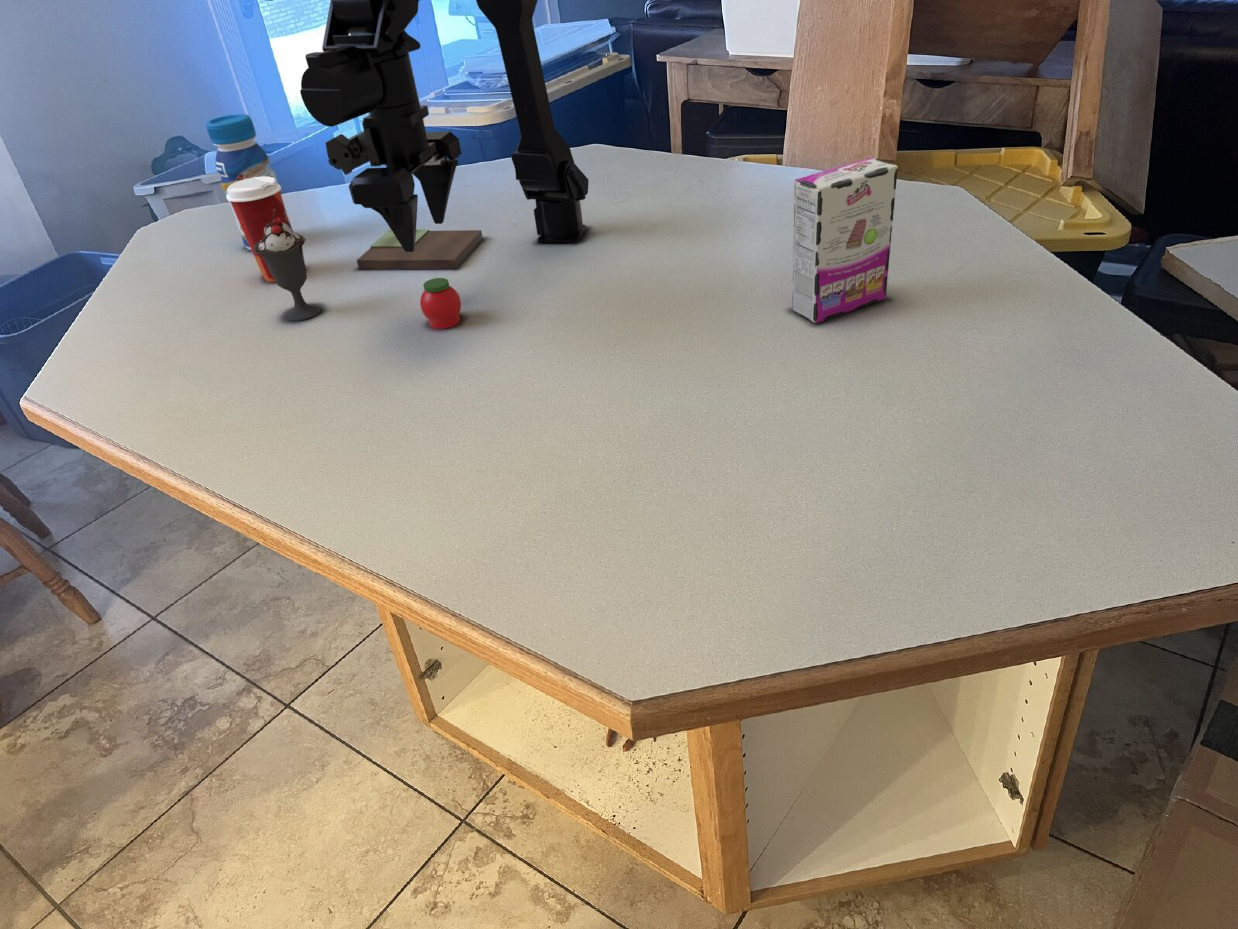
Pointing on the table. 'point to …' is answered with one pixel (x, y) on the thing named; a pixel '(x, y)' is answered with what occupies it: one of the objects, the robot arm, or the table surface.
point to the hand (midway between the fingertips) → (425, 236)
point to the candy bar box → (842, 238)
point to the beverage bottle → (238, 154)
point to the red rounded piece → (440, 303)
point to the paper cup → (257, 211)
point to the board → (422, 250)
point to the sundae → (286, 265)
